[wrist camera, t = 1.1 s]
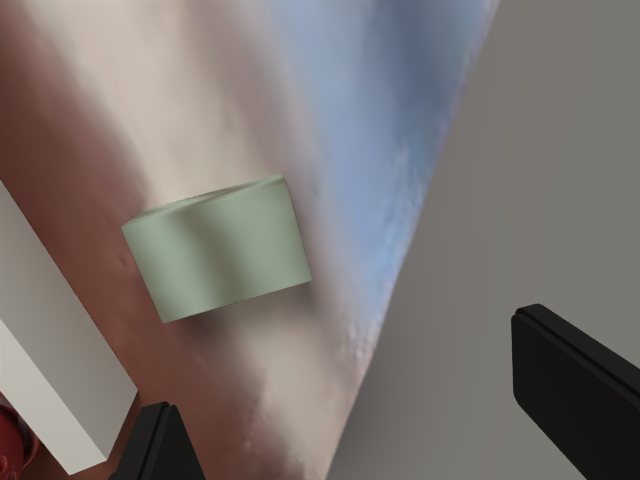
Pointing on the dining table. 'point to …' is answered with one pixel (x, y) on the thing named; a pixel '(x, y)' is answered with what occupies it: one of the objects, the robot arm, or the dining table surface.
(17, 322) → the board
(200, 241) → the block
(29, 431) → the plant pot
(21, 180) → the dining table surface
